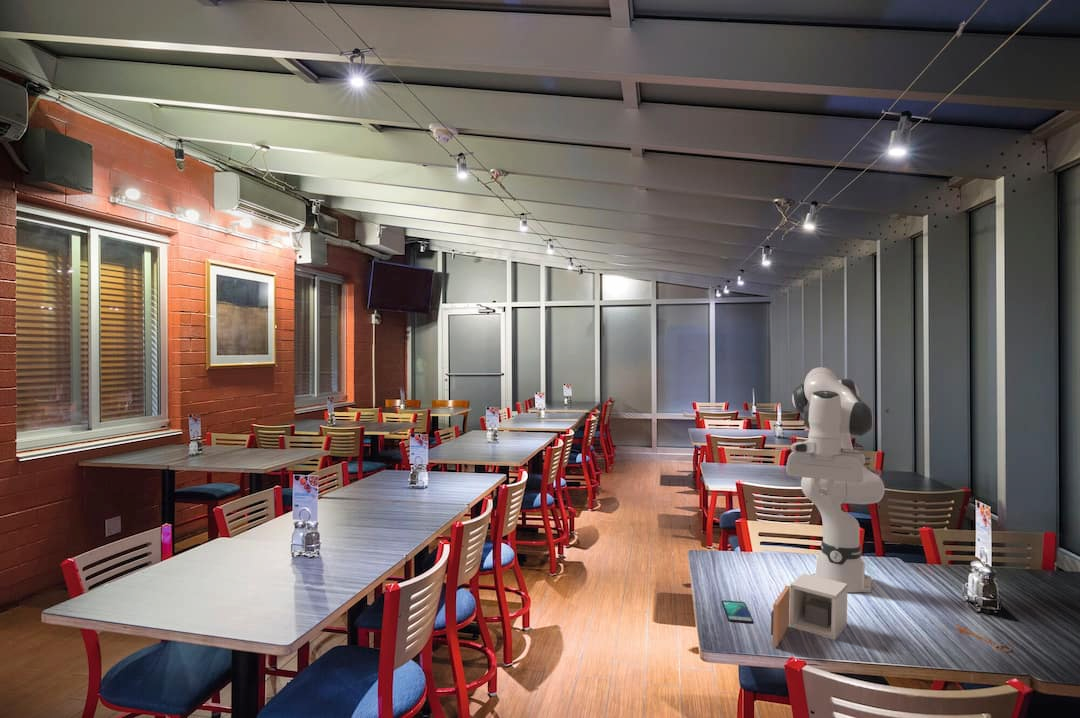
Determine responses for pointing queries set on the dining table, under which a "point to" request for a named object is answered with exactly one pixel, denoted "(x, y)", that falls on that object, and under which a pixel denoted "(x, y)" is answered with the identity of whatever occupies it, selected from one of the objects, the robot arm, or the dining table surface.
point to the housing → (818, 605)
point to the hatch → (780, 615)
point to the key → (982, 638)
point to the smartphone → (737, 612)
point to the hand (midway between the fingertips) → (823, 494)
